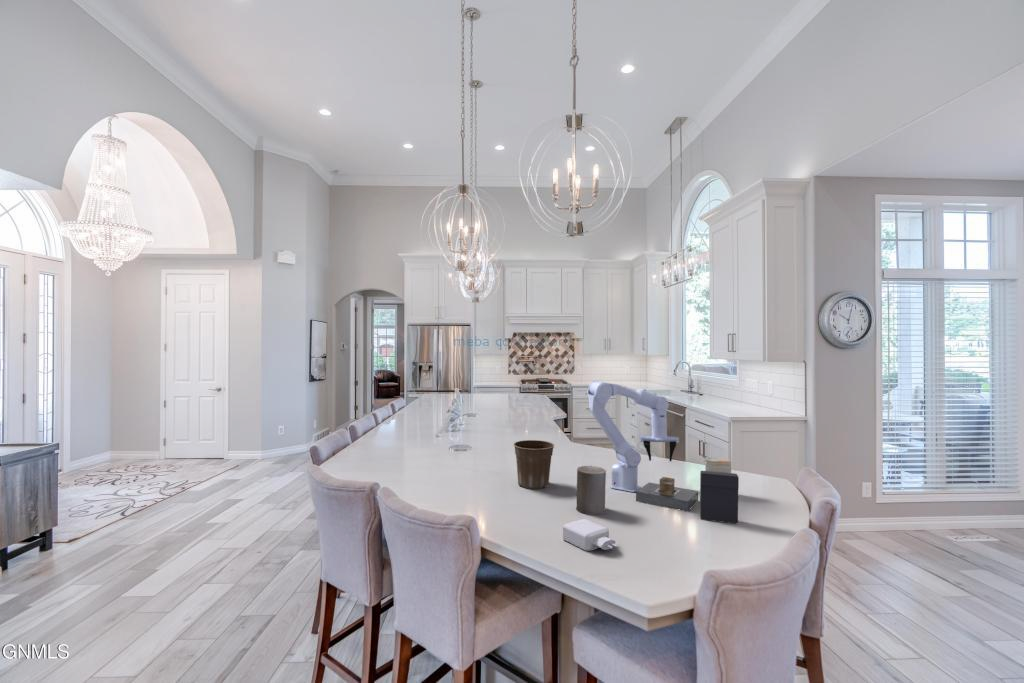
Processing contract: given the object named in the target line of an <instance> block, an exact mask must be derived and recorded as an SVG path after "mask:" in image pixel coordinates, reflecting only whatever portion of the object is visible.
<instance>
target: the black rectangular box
mask: <svg viewBox="0 0 1024 683" xmlns="http://www.w3.org/2000/svg"><path fill="white" fill-rule="evenodd" d="M699 473H700V475H699V476H700V478H699V480H700V482H699V485H700V486H699V487H700V488H699V489H700V490H699V491H700V493H699V517H700V519H701V520H703V519H706V520H705V521H711V520H715V521H714V522H719V521H723V522H722V523H727V522H730V523H729V524H736V523H737V524H738V523H739V485H740V484H739V482H740V481H739V479H740V478H739V475H738V474H737V473H733V472H731V473H723V472H712V471H705V470H700V472H699Z"/></svg>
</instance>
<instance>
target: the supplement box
mask: <svg viewBox="0 0 1024 683" xmlns="http://www.w3.org/2000/svg"><path fill="white" fill-rule="evenodd" d="M704 464H705V465H704V468H705V469H704V471H712V472H723V473H732V461H731V460H730V459H728V458H724V457H723V458H722V457H717V458H715V457H714V458H713V457H705V461H704Z"/></svg>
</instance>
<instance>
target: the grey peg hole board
mask: <svg viewBox="0 0 1024 683" xmlns="http://www.w3.org/2000/svg"><path fill="white" fill-rule="evenodd" d="M637 501H639V502H638V503H642V502H644V503H643V504H647V503H648V504H649V505H652V504H653V505H654V506H657V505H658V506H659V507H662V508H663V507H664V508H667V507H668V509H672V508H673V510H677V509H680V510H679V511H682V510H684V511H683V512H687V511H688V512H689V511H690V510H691V509H692V508H693V507H694V506H695V505H696V504H697V503H698V502H699V490H693V489H688V488H682V487H676V486H674V494H669V493H663V492H660V483H656V482H655V483H654V482H647V483H646V484H644V485H643V486H641V488H640V489H638V490H637V491H635V502H637ZM697 501H698V502H697ZM696 502H697V503H696ZM695 503H696V504H695ZM694 504H695V505H694ZM693 505H694V506H693ZM692 506H693V507H692ZM691 507H692V508H691ZM690 508H691V509H690Z"/></svg>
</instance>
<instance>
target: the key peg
mask: <svg viewBox="0 0 1024 683" xmlns="http://www.w3.org/2000/svg"><path fill="white" fill-rule="evenodd" d="M675 483H676V482H675V478H672V477H668V476H667V477H665V476H662V477H661V478H659V484H660V492H663V493H669V494H674V487H675Z"/></svg>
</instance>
